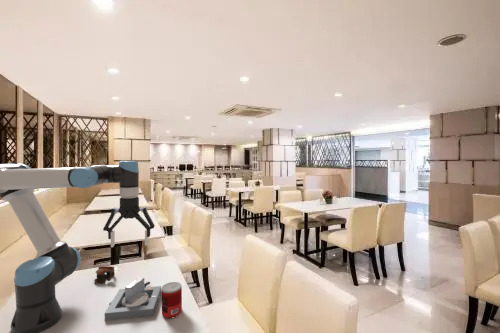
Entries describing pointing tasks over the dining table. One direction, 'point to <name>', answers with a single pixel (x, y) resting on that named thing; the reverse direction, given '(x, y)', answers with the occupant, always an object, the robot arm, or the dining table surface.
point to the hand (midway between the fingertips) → (129, 245)
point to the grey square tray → (133, 312)
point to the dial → (135, 294)
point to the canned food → (171, 299)
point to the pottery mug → (102, 276)
